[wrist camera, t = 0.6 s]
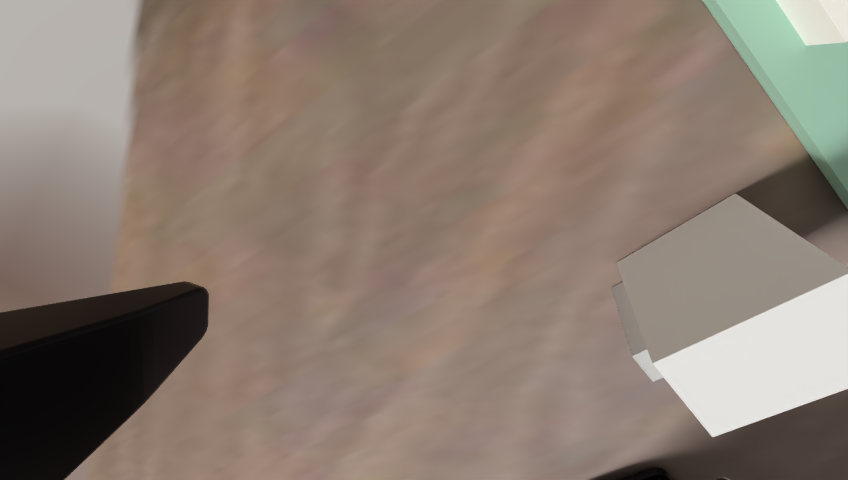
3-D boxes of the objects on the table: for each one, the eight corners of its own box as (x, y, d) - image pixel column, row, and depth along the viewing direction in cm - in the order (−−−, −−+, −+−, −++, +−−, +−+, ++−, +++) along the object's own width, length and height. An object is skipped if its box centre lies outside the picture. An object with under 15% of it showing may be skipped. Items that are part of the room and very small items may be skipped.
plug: (778, 252, 17) (918, 363, 11) (639, 322, 19) (685, 446, 13) (735, 193, 16) (853, 271, 10) (599, 272, 19) (626, 375, 13)
